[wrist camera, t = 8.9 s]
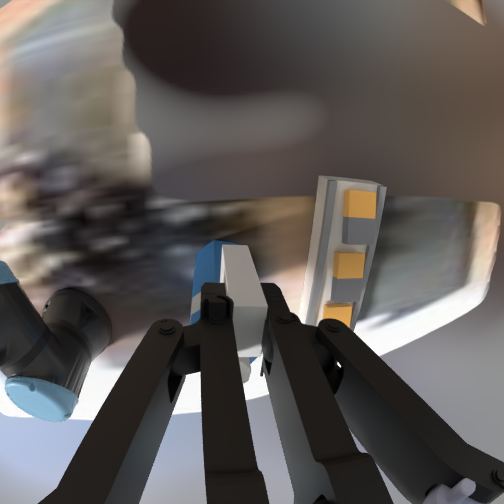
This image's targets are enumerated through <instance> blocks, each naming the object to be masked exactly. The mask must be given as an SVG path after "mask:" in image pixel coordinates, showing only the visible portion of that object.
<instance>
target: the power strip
mask: <svg viewBox="0 0 504 504" xmlns="http://www.w3.org/2000/svg"><path fill="white" fill-rule="evenodd" d="M386 189H387V187H385V186H383V185H381V184H378V183H376V182H374V181H368V180H361V179H352V178H343V177H334V176H323V175H319V180H318V187H317V196H316V204H315V212H314V219H313V227H312V234H311V241H310V248H309V255H308V262H307V268H306V275H305V281H304V287H303V293H302V299H301V305H300V311H299V316H298V317H299V319H300V321H301V323H303V324H307V325H312V326H318V323H319V322H320V321H321V320H323V310H324V304H339V303H334V302H333V301H332V300H331V299H330V298H331V288H332V277H333V266H334V253H335V251H348V252H362V253H365V261H364V271H363V280H362V289H361V297H360V302H344V303H348V304H350V305H351V306H352V313H351V320H350V329H351V330H352V331H353V332H354V328H355V325H356V322H357V318H358V315H359V311H360V308H361V304H362V300H363V297H364V293H365V289H366V285H367V281H368V277H369V273H370V269H371V265H372V261H373V256H374V252H375V247H376V243H377V238H378V233H379V228H380V223H381V218H382V212H383V207H384V201H385V195H386ZM344 190H359V191H369V192H376V215H375V234H374V245H347V244H344V243H342V230H343V208H344Z"/></svg>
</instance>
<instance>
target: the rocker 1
mask: <svg viewBox="0 0 504 504" xmlns="http://www.w3.org/2000/svg"><path fill="white" fill-rule="evenodd" d="M375 215H376V192H369V191H359V190H344V208H343V230H342V243H344V244H347V245H374V234H375Z"/></svg>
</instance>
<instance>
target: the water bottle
mask: <svg viewBox="0 0 504 504" xmlns="http://www.w3.org/2000/svg"><path fill="white" fill-rule="evenodd" d="M222 244H223V245H237V244H236V243H233V242H225V241H217V240H213V241H212V242H210V243H209V244H208V245H206V246H205V247H204V248H202V249H201V250H199V251H198V252H197V254H196V262H195V271H194V281H193V292H192V304H191V316H190V325H192V324H194V323H196V322H197V321H198V320H199V318H200V302H201V287H202V285H203V284H204V283H205V282H214V283H220V274H221V257H222ZM261 353H262V349H261ZM238 358H239V364H240V370H241V376H242V382H243V383H245V382H247V381H248V380H249V377H250V373H251V366H250V364H251V363H252V362H253V361H254V360H255V359H256V358H257V357H238Z"/></svg>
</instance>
